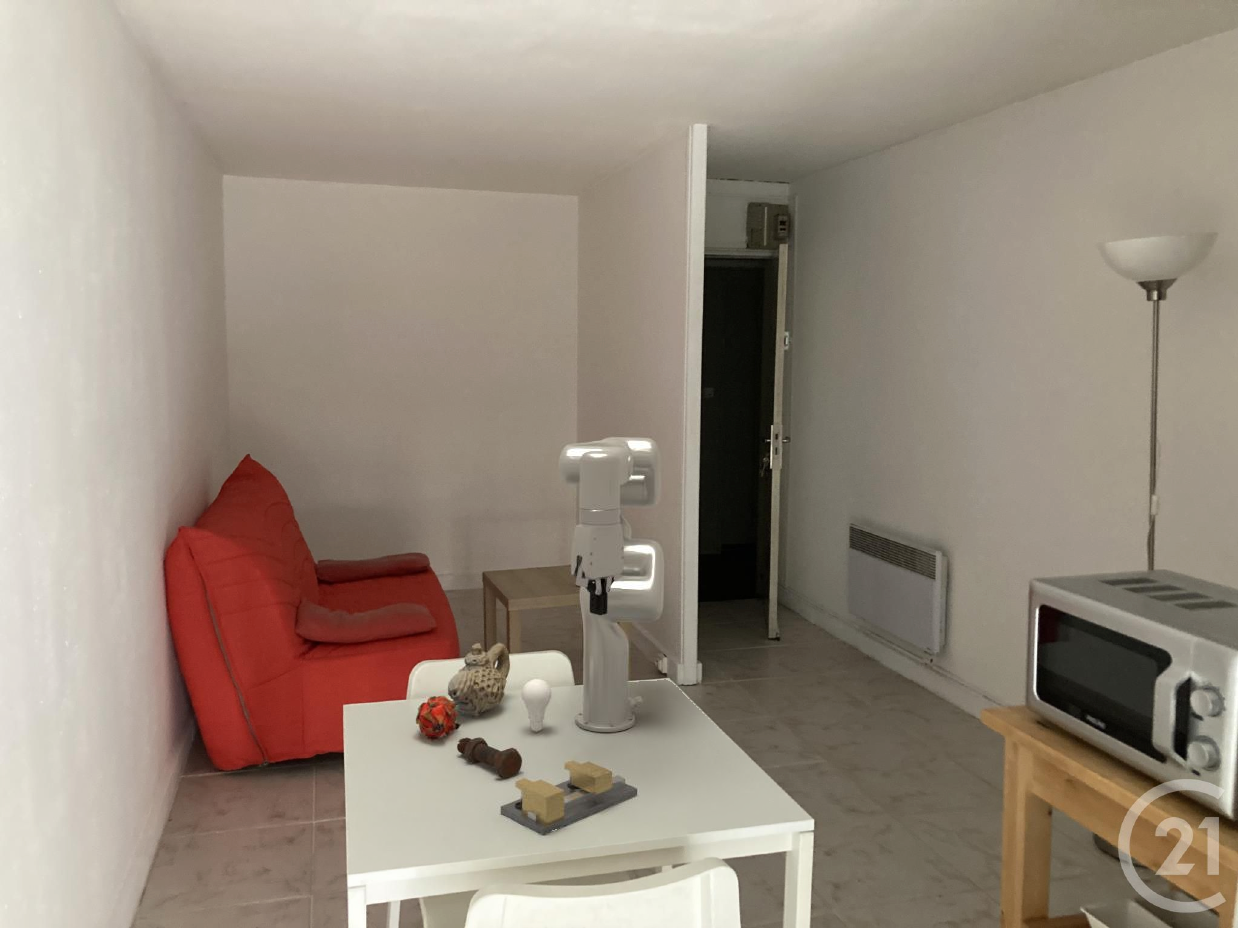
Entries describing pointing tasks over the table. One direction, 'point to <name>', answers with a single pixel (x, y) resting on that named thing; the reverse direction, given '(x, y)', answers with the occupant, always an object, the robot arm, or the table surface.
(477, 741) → the bolt
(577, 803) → the hole plate
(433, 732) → the dragon fruit
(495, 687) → the teapot
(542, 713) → the lightbulb
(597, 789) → the block
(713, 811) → the table surface
